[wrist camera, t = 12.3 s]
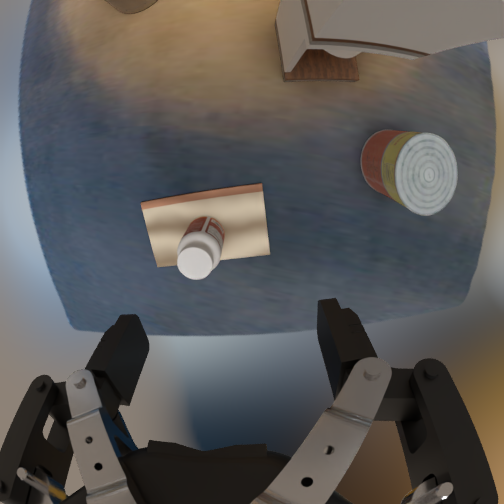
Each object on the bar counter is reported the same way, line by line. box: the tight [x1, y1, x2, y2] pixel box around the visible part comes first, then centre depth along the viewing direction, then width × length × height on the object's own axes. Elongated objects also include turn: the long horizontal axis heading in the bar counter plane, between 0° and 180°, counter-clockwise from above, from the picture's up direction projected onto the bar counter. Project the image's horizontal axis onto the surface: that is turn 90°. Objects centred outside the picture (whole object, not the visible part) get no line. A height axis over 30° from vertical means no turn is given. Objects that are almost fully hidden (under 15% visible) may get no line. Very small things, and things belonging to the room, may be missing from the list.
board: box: [141, 183, 270, 267], centre depth 44 cm, size 12×20×1 cm, turn 97°
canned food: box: [360, 130, 458, 216], centre depth 35 cm, size 11×11×12 cm
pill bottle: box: [177, 216, 225, 279], centre depth 40 cm, size 6×6×11 cm
